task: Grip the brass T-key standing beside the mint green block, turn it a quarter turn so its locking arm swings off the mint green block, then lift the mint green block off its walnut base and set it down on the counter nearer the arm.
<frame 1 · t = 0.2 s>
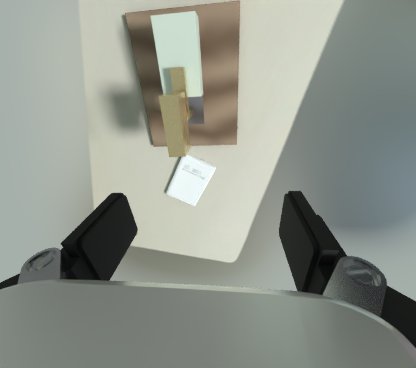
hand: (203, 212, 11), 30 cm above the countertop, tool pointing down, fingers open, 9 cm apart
key: (182, 108, 29), point 8 cm above the countertop, hinge at 0.0°
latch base: (189, 87, 35), on the countertop
mint green block: (182, 60, 29), point 4 cm above the countertop, touching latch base
external hard drive: (190, 178, 46), on the countertop
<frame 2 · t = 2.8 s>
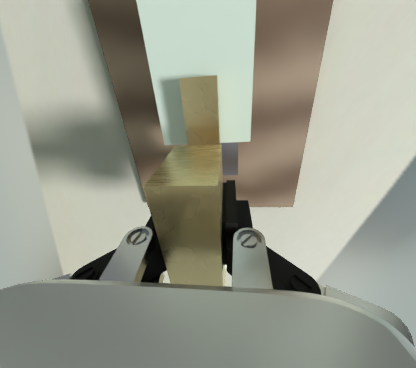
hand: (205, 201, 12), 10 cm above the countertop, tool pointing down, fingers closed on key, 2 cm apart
key: (206, 169, 13), point 8 cm above the countertop, hinge at 0.0°, touching gripper
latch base: (212, 112, 18), on the countertop
mint green block: (205, 60, 13), point 4 cm above the countertop, touching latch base
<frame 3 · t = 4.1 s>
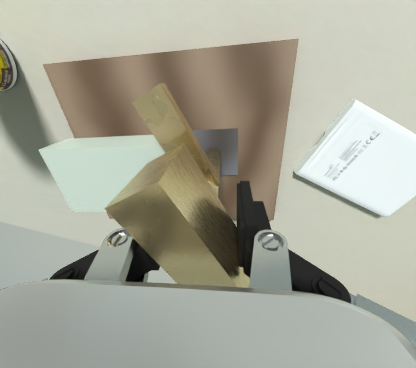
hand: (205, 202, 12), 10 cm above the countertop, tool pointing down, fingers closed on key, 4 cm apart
key: (196, 171, 13), point 8 cm above the countertop, hinge at -65.0°, touching gripper
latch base: (178, 151, 21), on the countertop
mint green block: (128, 167, 18), point 4 cm above the countertop, touching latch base
external hard drive: (362, 161, 20), on the countertop
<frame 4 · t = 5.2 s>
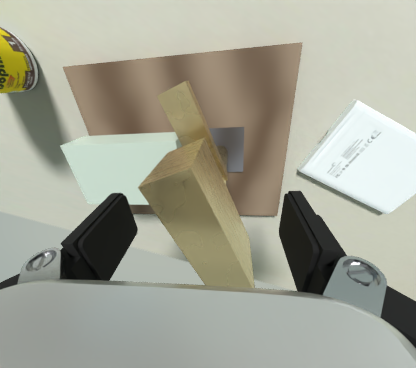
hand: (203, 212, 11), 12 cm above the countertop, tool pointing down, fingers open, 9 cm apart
key: (208, 165, 14), point 8 cm above the countertop, hinge at -70.4°
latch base: (187, 149, 22), on the countertop
mint green block: (140, 163, 19), point 4 cm above the countertop, touching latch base
external hard drive: (364, 159, 21), on the countertop
supplement bottle: (16, 61, 19), on the countertop
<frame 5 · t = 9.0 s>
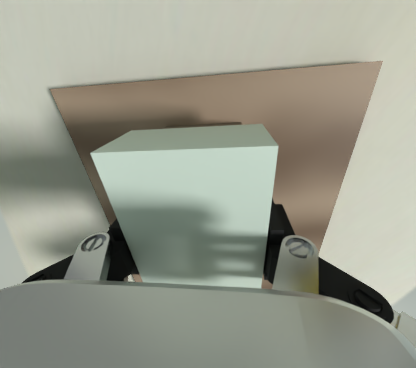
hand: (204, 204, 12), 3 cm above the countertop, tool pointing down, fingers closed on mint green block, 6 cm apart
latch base: (212, 220, 16), on the countertop
mint green block: (203, 214, 11), point 4 cm above the countertop, touching gripper, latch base
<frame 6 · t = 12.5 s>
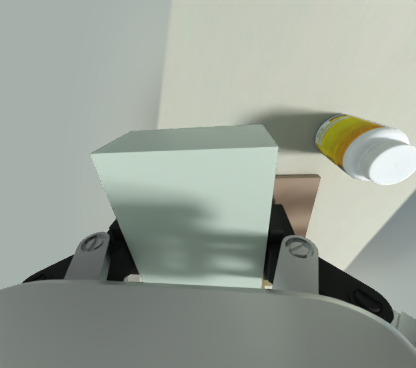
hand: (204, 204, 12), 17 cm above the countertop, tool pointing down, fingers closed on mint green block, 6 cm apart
key: (268, 279, 29), point 8 cm above the countertop, hinge at -70.8°
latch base: (253, 227, 35), on the countertop
mint green block: (203, 214, 11), point 18 cm above the countertop, touching gripper
supplement bottle: (334, 134, 25), on the countertop
when the fingers open (1 cm above the countertop, at t = 15.9 s): mint green block drops 2 cm, on the countertop.
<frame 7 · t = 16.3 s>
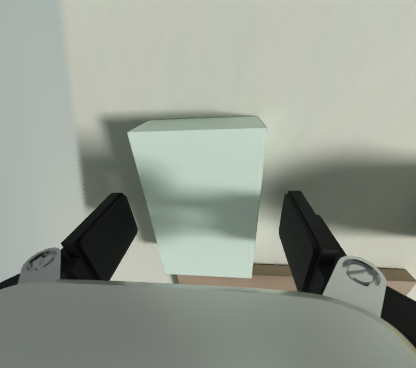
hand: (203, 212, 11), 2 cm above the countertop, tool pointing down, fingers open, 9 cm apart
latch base: (271, 328, 21), on the countertop
mint green block: (207, 191, 13), on the countertop
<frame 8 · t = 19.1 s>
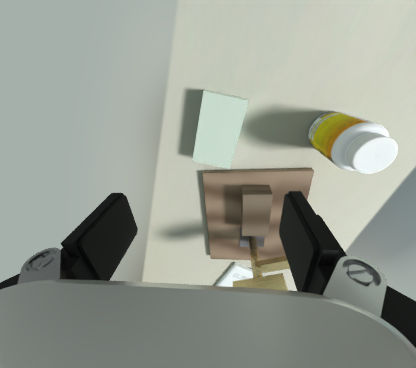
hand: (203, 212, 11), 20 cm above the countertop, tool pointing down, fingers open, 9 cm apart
key: (265, 266, 31), point 8 cm above the countertop, hinge at -70.8°
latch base: (252, 219, 37), on the countertop
mint green block: (218, 128, 29), on the countertop
external hard drive: (237, 278, 48), on the countertop
supplement bottle: (326, 130, 27), on the countertop
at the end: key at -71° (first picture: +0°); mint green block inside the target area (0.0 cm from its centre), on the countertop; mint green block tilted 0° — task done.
